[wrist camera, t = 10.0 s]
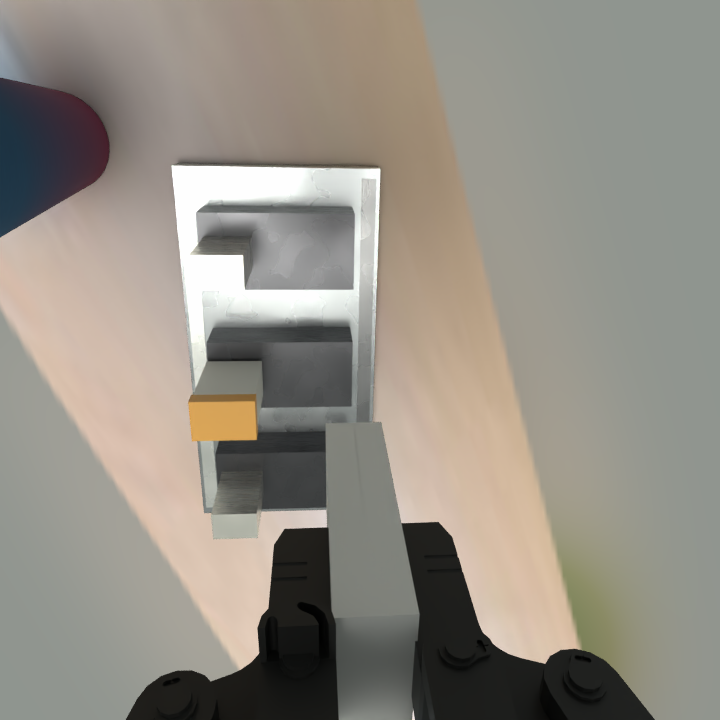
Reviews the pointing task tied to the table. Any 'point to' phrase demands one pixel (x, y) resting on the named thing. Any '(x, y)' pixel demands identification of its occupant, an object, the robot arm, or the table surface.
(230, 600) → the table surface
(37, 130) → the cup
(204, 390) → the handle
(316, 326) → the panel
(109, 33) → the table surface
